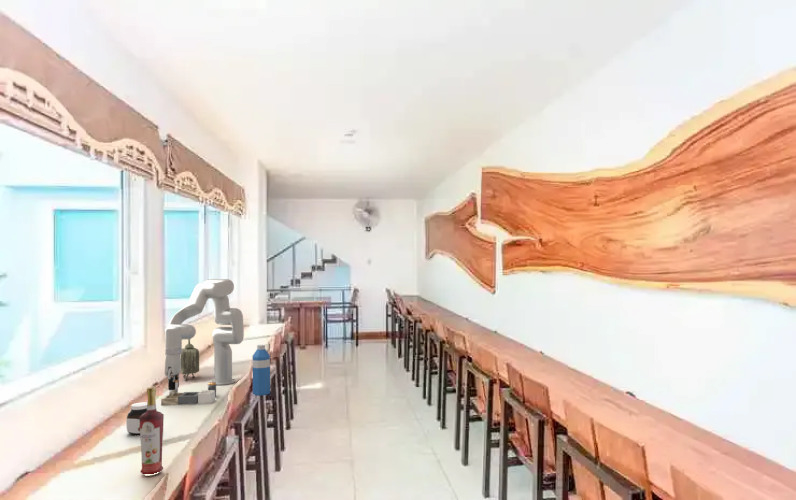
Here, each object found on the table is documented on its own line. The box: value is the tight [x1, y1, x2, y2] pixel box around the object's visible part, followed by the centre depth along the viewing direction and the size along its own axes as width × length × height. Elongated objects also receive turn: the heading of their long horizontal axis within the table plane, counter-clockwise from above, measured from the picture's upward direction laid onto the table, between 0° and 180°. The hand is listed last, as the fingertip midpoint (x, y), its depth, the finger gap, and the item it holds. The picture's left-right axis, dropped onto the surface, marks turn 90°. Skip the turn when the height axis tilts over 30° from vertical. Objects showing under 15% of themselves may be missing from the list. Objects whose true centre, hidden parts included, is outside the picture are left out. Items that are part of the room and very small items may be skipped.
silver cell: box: [168, 379, 179, 396], centre depth 279 cm, size 4×4×7 cm
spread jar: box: [125, 401, 148, 437], centre depth 232 cm, size 12×11×12 cm
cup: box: [197, 389, 216, 405], centre depth 278 cm, size 6×6×5 cm
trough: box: [160, 392, 183, 406], centre depth 280 cm, size 12×8×3 cm, turn 2°
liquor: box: [139, 386, 165, 475], centre depth 186 cm, size 7×7×28 cm
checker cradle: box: [178, 391, 200, 406], centre depth 279 cm, size 9×9×4 cm
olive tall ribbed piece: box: [180, 339, 200, 382], centre depth 333 cm, size 14×9×25 cm, turn 25°
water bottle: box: [252, 344, 271, 396], centre depth 295 cm, size 9×9×25 cm
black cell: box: [207, 381, 217, 398], centre depth 289 cm, size 4×4×7 cm
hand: (173, 388), depth 279 cm, fingers closed on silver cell, 4 cm apart
